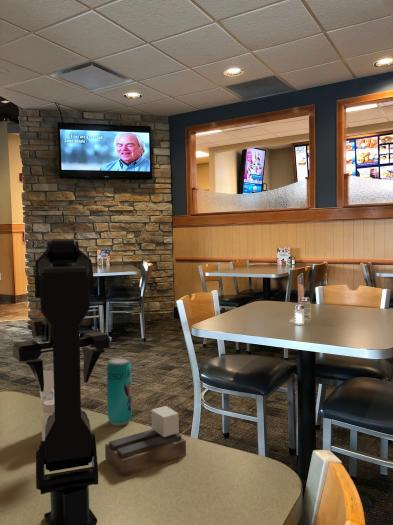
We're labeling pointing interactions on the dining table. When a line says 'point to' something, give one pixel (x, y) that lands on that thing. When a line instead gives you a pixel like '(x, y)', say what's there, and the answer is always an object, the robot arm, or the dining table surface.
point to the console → (143, 451)
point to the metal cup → (48, 383)
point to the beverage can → (119, 391)
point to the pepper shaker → (46, 414)
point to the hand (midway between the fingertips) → (64, 386)
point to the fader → (165, 421)
